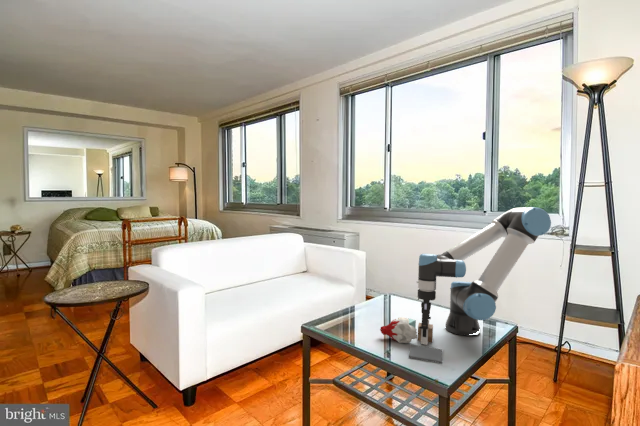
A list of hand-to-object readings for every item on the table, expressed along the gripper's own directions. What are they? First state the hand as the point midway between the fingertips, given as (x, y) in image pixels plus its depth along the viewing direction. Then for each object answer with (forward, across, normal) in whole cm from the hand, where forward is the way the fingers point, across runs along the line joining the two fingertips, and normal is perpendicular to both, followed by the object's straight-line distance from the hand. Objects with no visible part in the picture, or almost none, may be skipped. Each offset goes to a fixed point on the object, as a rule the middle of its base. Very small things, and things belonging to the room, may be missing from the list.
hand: (424, 338), depth 151 cm
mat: (0, +17, +1) cm, 17 cm away
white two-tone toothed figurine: (+1, +6, -11) cm, 12 cm away
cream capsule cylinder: (0, -5, -10) cm, 11 cm away
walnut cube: (0, 0, 0) cm, 0 cm away
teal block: (0, -11, -8) cm, 14 cm away
